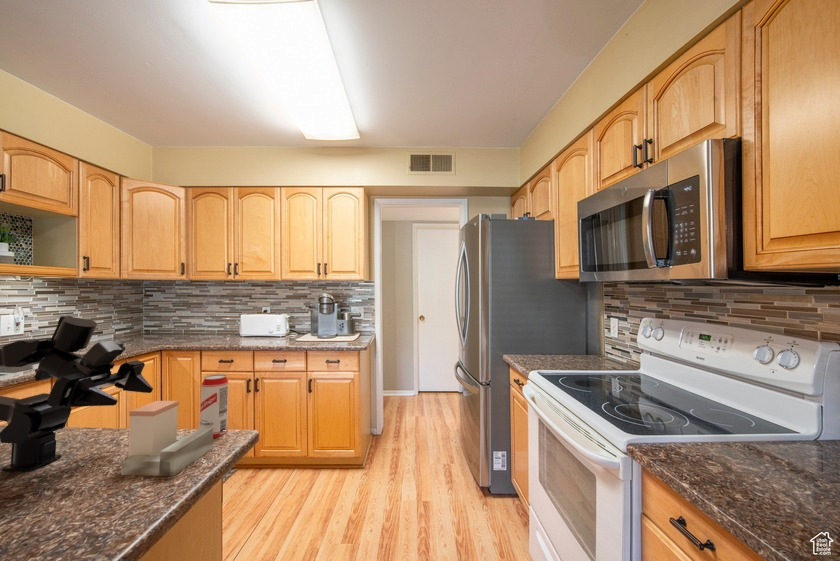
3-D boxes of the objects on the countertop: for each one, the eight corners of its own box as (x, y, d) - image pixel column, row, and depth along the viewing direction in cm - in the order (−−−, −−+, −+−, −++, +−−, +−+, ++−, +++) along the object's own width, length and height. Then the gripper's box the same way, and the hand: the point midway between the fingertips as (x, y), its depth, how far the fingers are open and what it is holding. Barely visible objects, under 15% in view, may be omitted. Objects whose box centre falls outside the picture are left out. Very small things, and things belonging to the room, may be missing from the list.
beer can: (214, 444, 86) (216, 380, 87) (193, 441, 87) (195, 378, 88) (232, 434, 92) (234, 374, 93) (212, 432, 94) (214, 373, 94)
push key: (127, 467, 72) (129, 411, 72) (154, 452, 79) (156, 400, 79) (151, 468, 71) (153, 411, 72) (176, 452, 79) (178, 401, 79)
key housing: (85, 488, 66) (86, 456, 66) (158, 447, 84) (159, 422, 84) (166, 490, 66) (167, 458, 66) (222, 448, 84) (223, 423, 84)
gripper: (41, 340, 67) (111, 372, 67) (124, 331, 86) (180, 355, 85) (17, 393, 67) (87, 425, 66) (106, 372, 86) (162, 397, 85)
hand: (135, 396), depth 76 cm, fingers open, 9 cm apart
